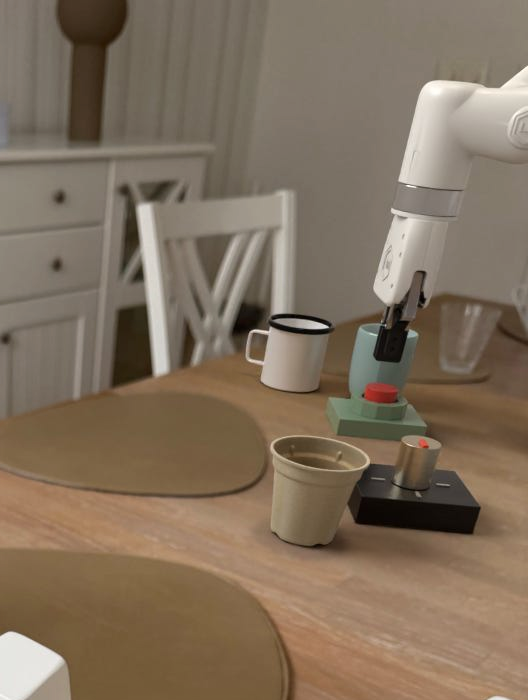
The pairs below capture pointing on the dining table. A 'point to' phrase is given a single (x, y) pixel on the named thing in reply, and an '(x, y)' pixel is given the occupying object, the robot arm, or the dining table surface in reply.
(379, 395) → the button
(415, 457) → the knob
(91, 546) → the dining table surface
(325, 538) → the flower pot
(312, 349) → the mug
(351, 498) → the dial panel
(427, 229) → the robot arm
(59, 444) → the dining table surface
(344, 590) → the dining table surface
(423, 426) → the button housing
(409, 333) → the cup
